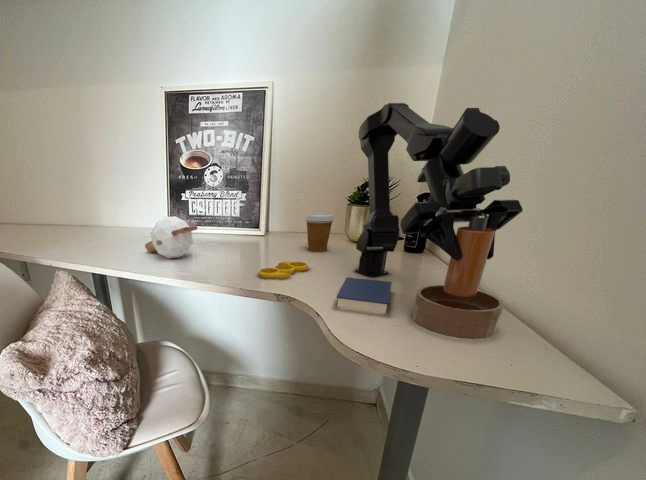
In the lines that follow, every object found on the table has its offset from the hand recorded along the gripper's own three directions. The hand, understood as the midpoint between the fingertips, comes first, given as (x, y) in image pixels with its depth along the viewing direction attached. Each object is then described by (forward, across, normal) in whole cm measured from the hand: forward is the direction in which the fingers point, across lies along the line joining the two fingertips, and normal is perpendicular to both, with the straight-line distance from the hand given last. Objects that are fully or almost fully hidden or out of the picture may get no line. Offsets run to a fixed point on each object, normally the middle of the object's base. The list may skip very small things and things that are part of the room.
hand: (474, 258), depth 55 cm
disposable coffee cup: (-36, -6, +55) cm, 66 cm away
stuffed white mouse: (-35, -58, +54) cm, 86 cm away
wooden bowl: (+8, 0, +10) cm, 13 cm away
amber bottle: (+4, 0, +6) cm, 7 cm away
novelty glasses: (-18, -24, +37) cm, 48 cm away
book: (-2, -11, +20) cm, 23 cm away
